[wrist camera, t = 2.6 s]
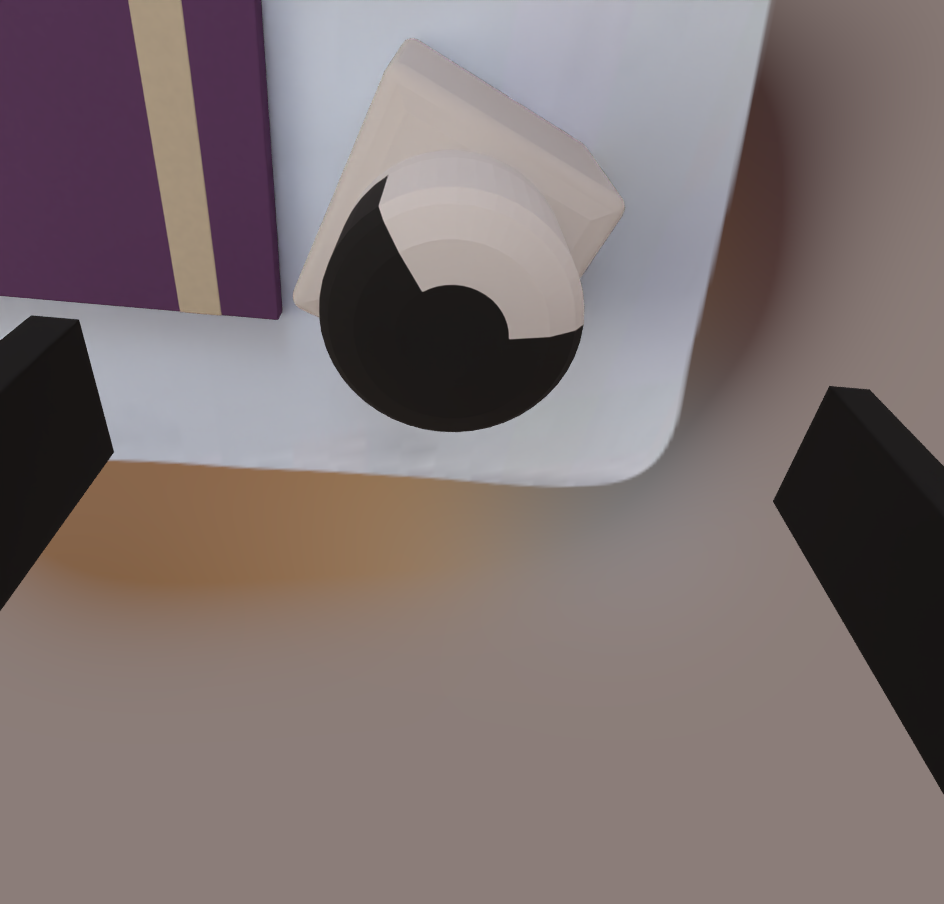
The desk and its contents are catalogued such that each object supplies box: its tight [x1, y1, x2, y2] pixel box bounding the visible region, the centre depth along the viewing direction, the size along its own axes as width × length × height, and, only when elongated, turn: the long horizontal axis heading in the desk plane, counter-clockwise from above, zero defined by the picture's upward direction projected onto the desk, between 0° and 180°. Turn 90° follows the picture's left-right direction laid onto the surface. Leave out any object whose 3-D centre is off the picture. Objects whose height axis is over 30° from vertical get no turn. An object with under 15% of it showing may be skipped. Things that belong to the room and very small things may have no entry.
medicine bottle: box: [293, 38, 625, 432], centre depth 19 cm, size 7×7×12 cm
